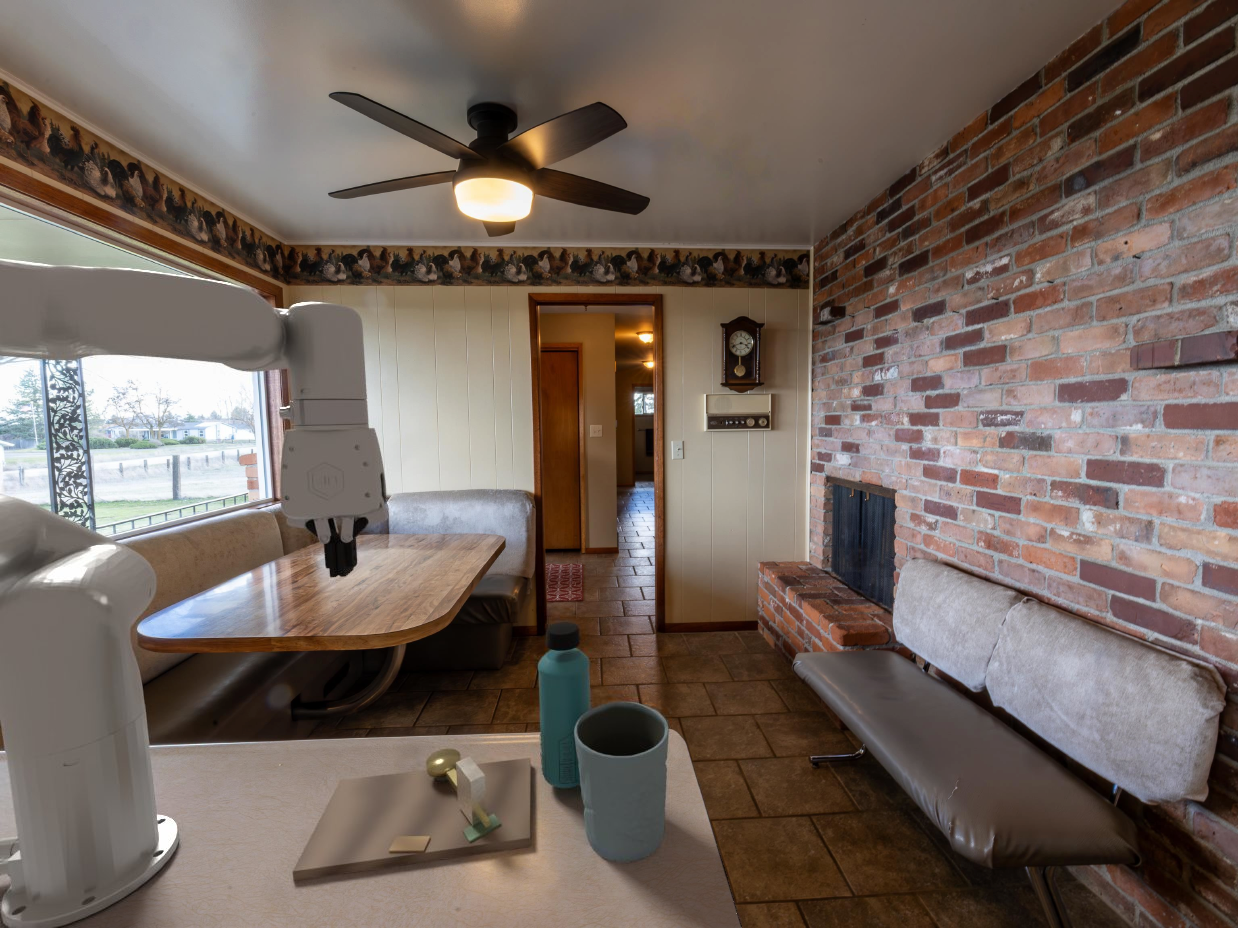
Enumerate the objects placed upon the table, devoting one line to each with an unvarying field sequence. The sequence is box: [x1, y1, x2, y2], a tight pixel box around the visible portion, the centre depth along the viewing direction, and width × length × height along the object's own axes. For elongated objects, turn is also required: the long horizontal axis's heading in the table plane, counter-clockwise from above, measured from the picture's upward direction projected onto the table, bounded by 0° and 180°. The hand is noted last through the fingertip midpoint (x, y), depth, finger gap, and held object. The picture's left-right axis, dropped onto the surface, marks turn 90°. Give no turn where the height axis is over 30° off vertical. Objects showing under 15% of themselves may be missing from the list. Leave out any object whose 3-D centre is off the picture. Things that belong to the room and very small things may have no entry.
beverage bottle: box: [537, 621, 593, 789], centre depth 64 cm, size 6×7×20 cm
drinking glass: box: [574, 701, 670, 864], centre depth 57 cm, size 10×10×12 cm
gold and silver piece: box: [425, 748, 490, 827], centre depth 60 cm, size 14×4×5 cm, turn 39°
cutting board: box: [292, 757, 532, 881], centre depth 60 cm, size 23×13×2 cm, turn 99°
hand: (342, 573), depth 61 cm, fingers closed
